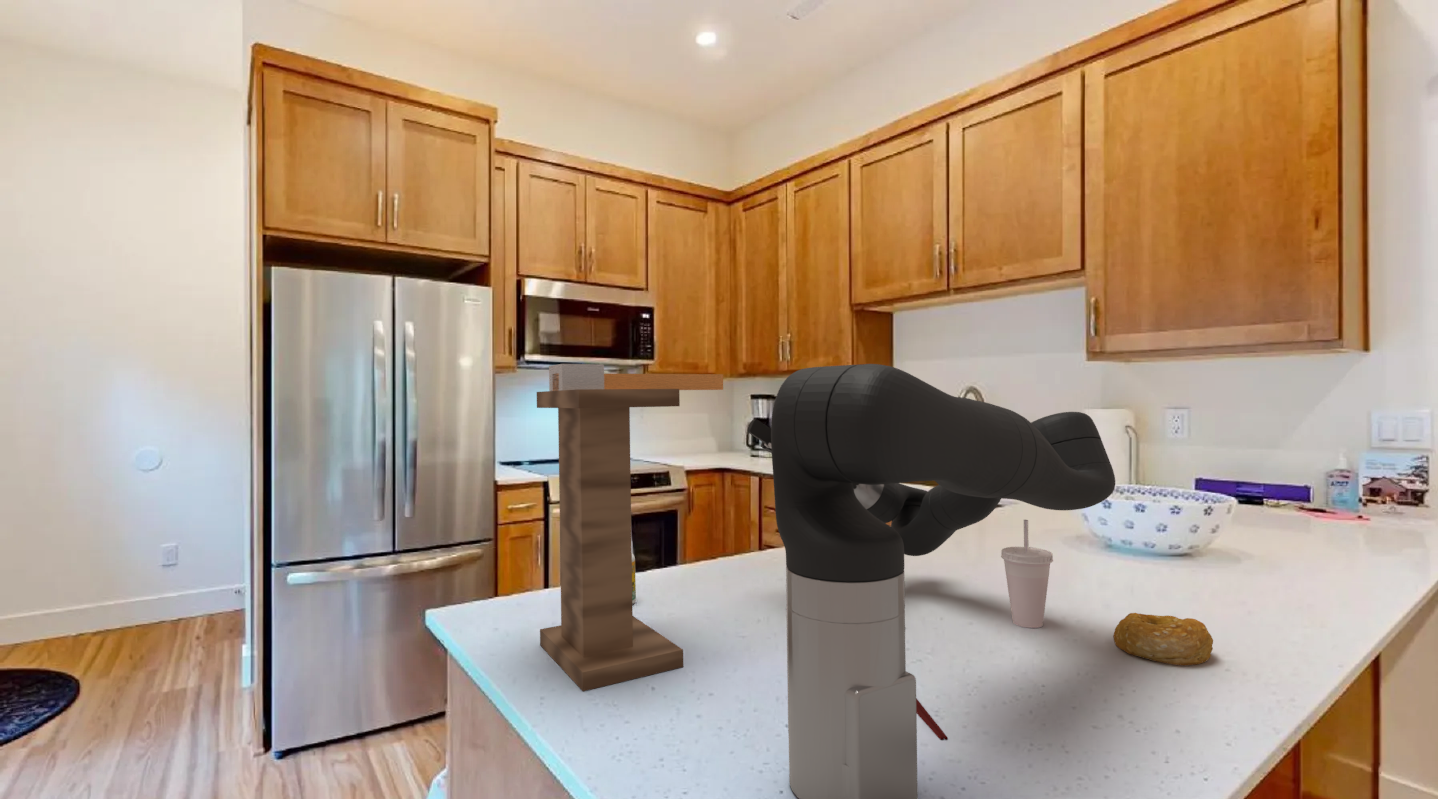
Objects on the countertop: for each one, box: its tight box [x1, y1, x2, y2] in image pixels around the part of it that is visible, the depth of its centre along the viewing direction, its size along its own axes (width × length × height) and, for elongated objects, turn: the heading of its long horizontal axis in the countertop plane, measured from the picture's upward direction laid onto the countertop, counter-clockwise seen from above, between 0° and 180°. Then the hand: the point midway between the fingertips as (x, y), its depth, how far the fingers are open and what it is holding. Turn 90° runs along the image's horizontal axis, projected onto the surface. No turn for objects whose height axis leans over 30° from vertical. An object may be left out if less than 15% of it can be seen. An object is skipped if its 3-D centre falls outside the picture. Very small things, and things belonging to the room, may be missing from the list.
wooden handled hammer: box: [548, 363, 724, 391], centre depth 84 cm, size 5×22×3 cm, turn 121°
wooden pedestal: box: [536, 389, 684, 692], centre depth 81 cm, size 16×12×32 cm
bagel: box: [1112, 612, 1214, 666], centre depth 81 cm, size 10×11×5 cm
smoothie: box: [1000, 519, 1054, 629], centre depth 91 cm, size 6×6×14 cm
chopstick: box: [916, 697, 949, 741], centre depth 72 cm, size 2×24×1 cm, turn 6°
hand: (767, 425), depth 94 cm, fingers open, 8 cm apart
